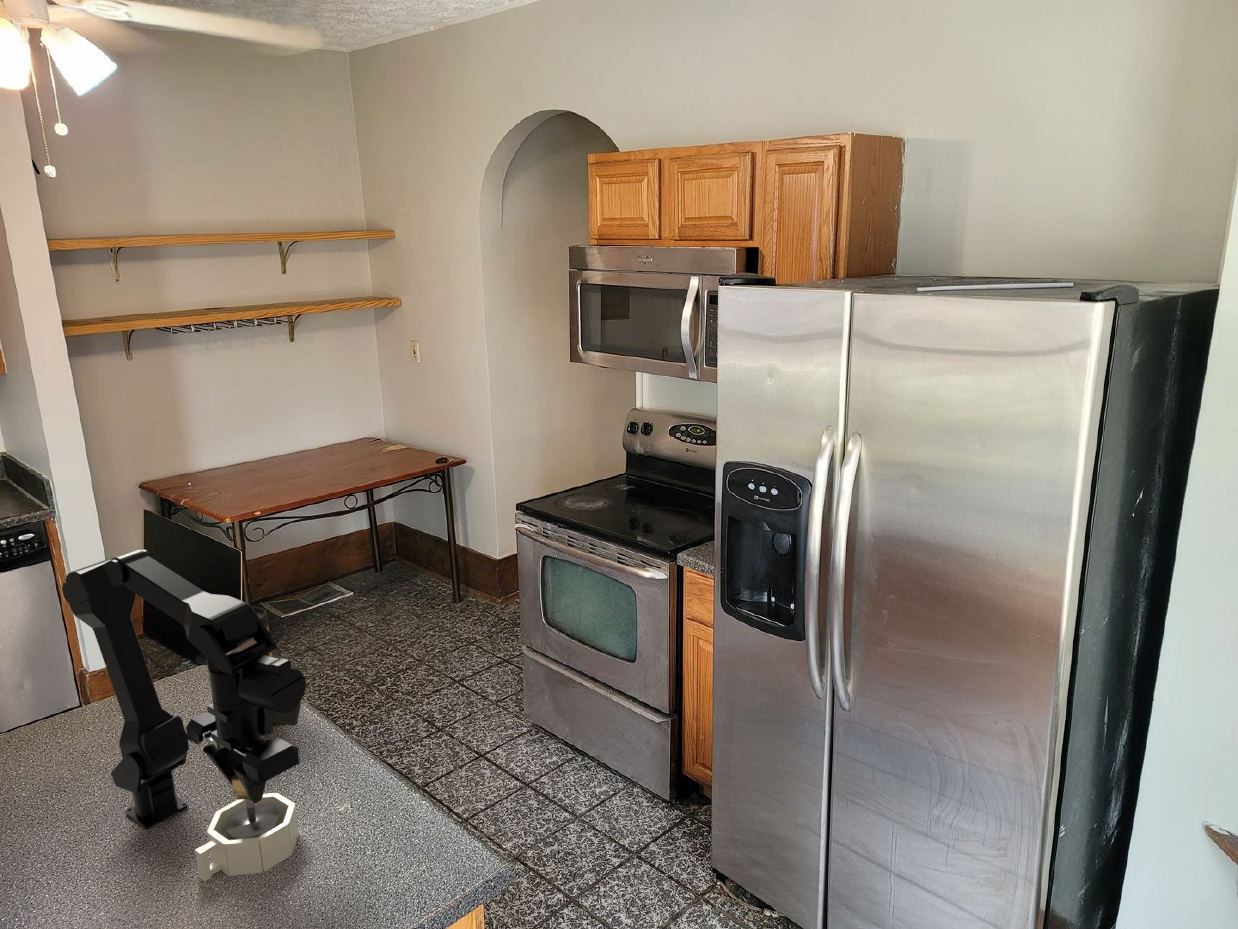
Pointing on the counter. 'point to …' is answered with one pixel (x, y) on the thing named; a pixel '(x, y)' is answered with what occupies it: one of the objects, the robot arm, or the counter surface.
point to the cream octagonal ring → (248, 842)
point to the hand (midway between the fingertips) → (249, 796)
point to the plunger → (250, 816)
